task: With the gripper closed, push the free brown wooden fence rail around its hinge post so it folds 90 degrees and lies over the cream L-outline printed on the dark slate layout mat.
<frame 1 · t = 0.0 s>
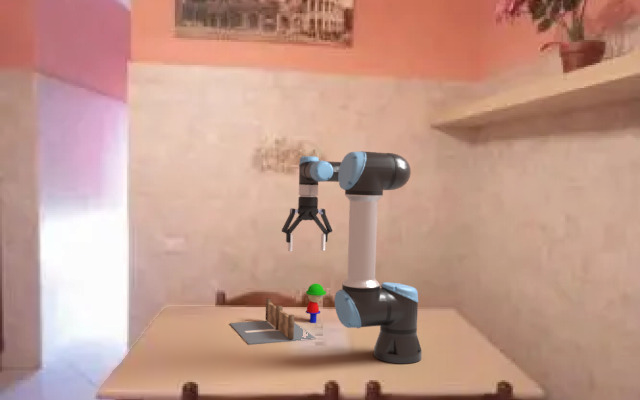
hand: (306, 250, 222), 28 cm above the table, fingers open, 13 cm apart
toy: (315, 322, 225), on the table
fence panel: (285, 323, 202), point 5 cm above the table, hinge at 0.0°
fence fixed: (278, 330, 210), resting on layout mat
layout mat: (270, 331, 209), on the table
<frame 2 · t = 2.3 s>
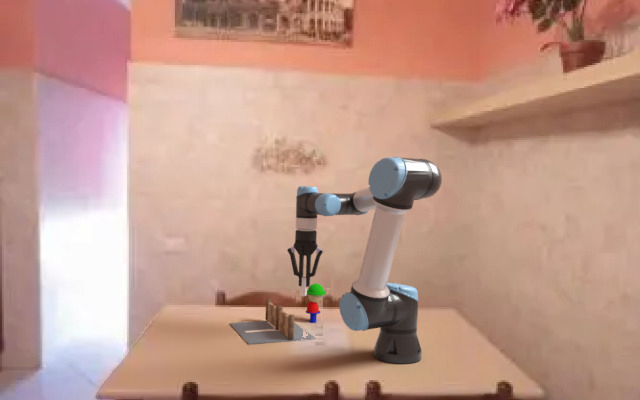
hand: (303, 295, 204), 14 cm above the table, fingers closed
nothing on the table moved.
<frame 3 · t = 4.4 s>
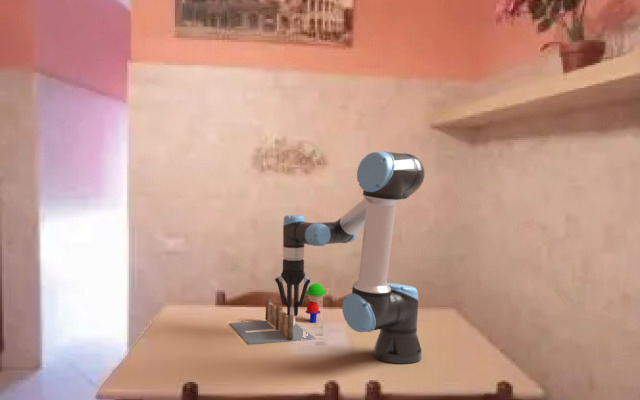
hand: (292, 324, 203), 4 cm above the table, fingers closed
fence panel: (285, 323, 202), point 5 cm above the table, hinge at -1.0°, touching gripper
everything else where it was.
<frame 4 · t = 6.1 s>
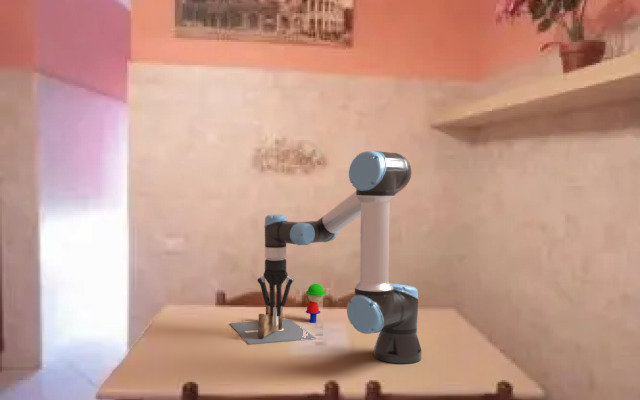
hand: (275, 324, 202), 4 cm above the table, fingers closed
fence panel: (268, 322, 202), point 5 cm above the table, hinge at -44.8°, touching gripper
everything else where it was.
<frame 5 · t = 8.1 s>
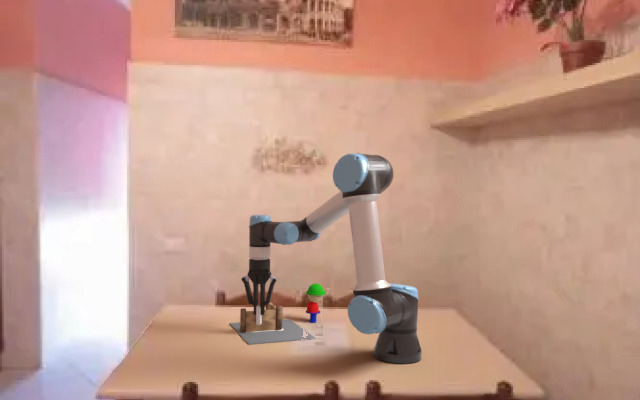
hand: (258, 323, 205), 4 cm above the table, fingers closed
fence panel: (257, 319, 207), point 5 cm above the table, hinge at -90.0°, touching gripper
everything else where it was.
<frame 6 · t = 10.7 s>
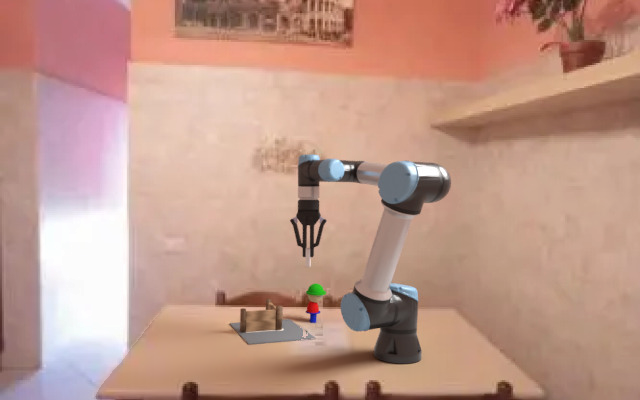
hand: (308, 266, 200), 25 cm above the table, fingers closed
fence panel: (257, 319, 207), point 5 cm above the table, hinge at -90.0°
everything else where it was.
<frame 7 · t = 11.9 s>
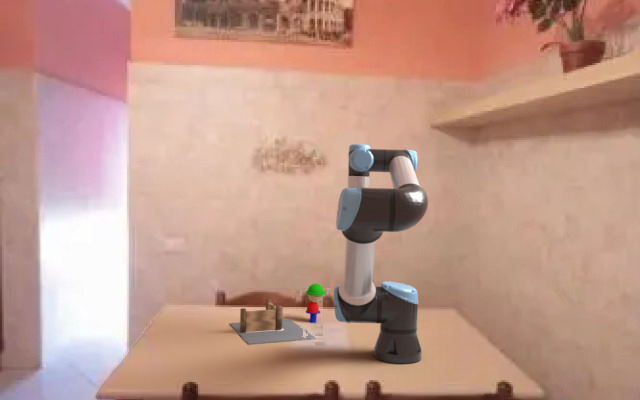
hand: (356, 256, 200), 29 cm above the table, fingers closed
nothing on the table moved.
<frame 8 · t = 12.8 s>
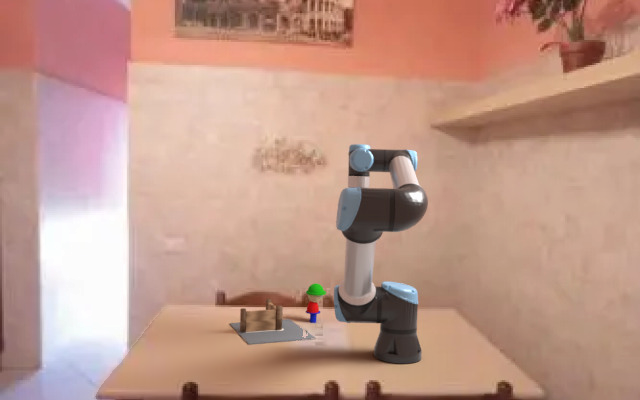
hand: (356, 256, 200), 29 cm above the table, fingers closed
nothing on the table moved.
at the end: fence panel at -90° (first picture: +0°); the gripper is holding nothing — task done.
